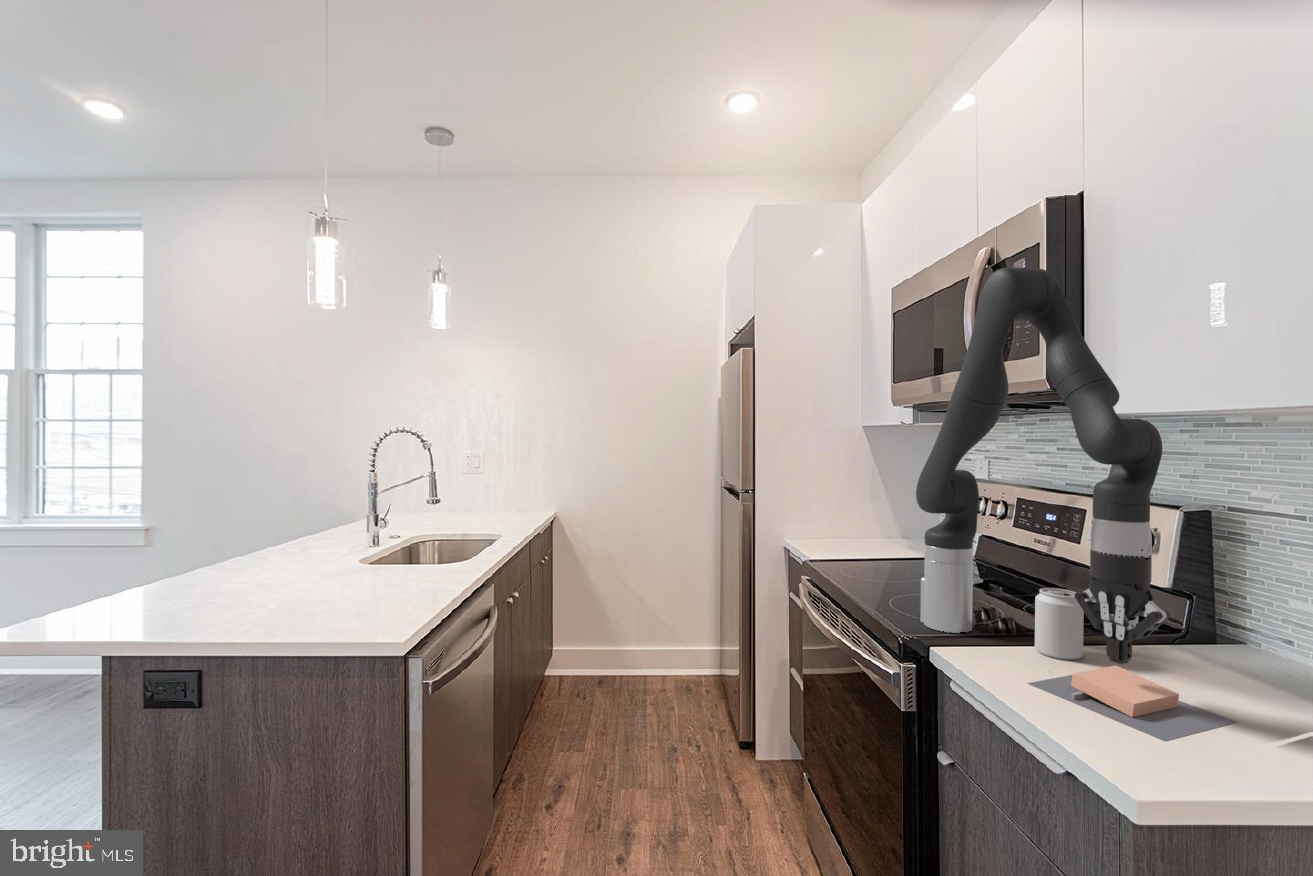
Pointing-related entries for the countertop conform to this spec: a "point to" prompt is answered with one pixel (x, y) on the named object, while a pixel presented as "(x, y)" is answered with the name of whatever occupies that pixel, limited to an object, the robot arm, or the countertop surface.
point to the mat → (1155, 724)
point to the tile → (1125, 690)
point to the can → (1058, 624)
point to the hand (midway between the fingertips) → (1118, 662)
